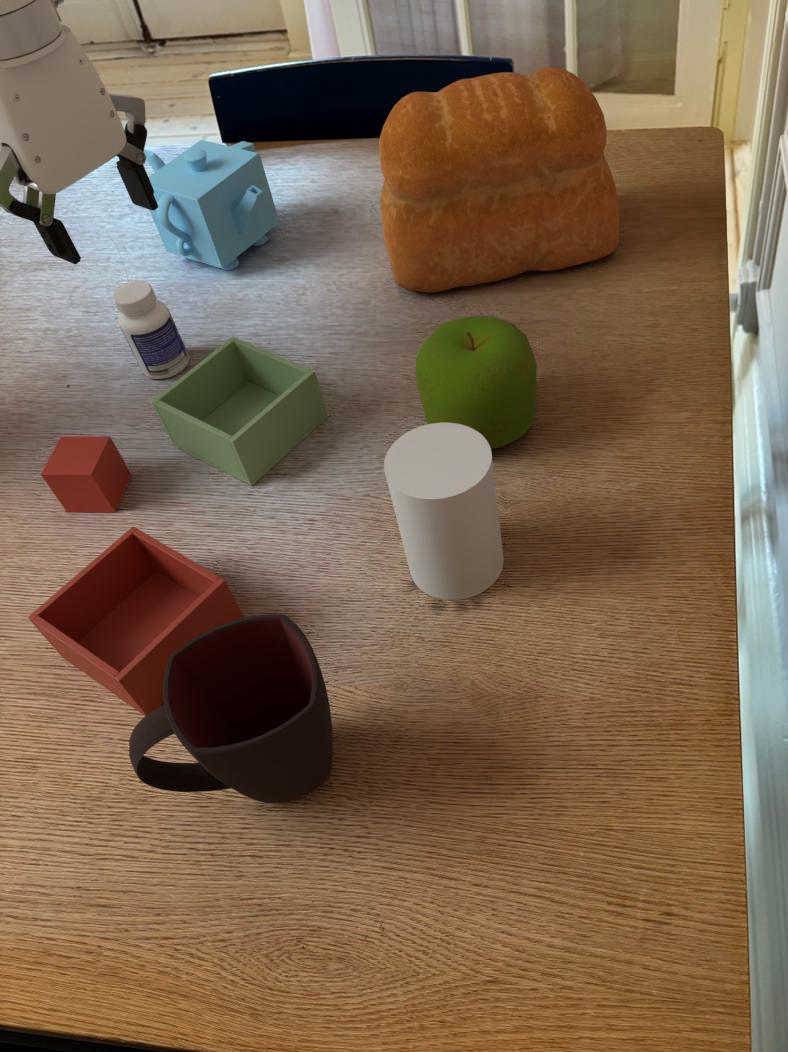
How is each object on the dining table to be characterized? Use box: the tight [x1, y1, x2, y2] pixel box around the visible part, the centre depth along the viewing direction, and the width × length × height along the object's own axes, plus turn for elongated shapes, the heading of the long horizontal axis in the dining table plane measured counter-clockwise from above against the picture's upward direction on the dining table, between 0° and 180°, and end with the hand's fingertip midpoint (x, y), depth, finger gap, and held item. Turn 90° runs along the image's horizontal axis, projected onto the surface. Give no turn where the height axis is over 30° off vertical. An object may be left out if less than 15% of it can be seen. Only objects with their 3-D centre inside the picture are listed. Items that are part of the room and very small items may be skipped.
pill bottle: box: [112, 280, 190, 380], centre depth 92 cm, size 5×5×9 cm
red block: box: [40, 435, 133, 513], centre depth 83 cm, size 5×5×5 cm
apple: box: [415, 315, 538, 450], centre depth 81 cm, size 11×11×11 cm
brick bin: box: [27, 525, 246, 717], centre depth 72 cm, size 11×11×6 cm
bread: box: [378, 66, 620, 294], centre depth 95 cm, size 16×26×17 cm, turn 100°
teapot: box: [144, 139, 280, 271], centre depth 104 cm, size 16×18×11 cm
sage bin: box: [150, 336, 329, 487], centre depth 86 cm, size 11×11×6 cm
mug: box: [128, 613, 334, 804], centre depth 61 cm, size 10×14×12 cm
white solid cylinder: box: [383, 423, 505, 601], centre depth 71 cm, size 8×8×12 cm
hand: (108, 232), depth 83 cm, fingers open, 9 cm apart
